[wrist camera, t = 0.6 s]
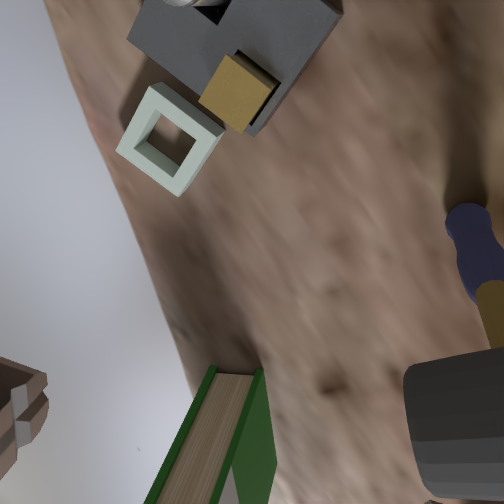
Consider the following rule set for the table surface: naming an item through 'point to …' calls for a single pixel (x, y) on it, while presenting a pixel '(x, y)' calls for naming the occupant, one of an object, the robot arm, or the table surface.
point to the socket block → (235, 40)
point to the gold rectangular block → (238, 91)
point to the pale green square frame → (185, 117)
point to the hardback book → (221, 446)
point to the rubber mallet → (464, 380)
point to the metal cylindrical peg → (196, 2)
